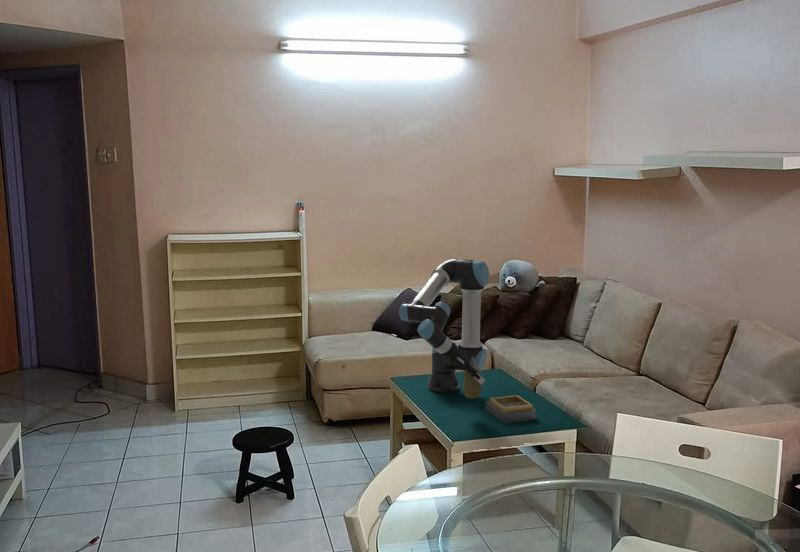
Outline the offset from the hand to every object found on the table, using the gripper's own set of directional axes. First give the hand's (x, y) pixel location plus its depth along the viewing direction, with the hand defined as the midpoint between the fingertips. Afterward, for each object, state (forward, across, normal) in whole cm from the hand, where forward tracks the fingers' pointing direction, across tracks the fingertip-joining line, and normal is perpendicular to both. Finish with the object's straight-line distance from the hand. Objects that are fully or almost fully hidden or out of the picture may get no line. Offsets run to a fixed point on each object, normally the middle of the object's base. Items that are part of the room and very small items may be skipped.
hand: (479, 380), depth 346 cm
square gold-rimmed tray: (+21, +4, -2) cm, 22 cm away
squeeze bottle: (+3, 0, -8) cm, 8 cm away
